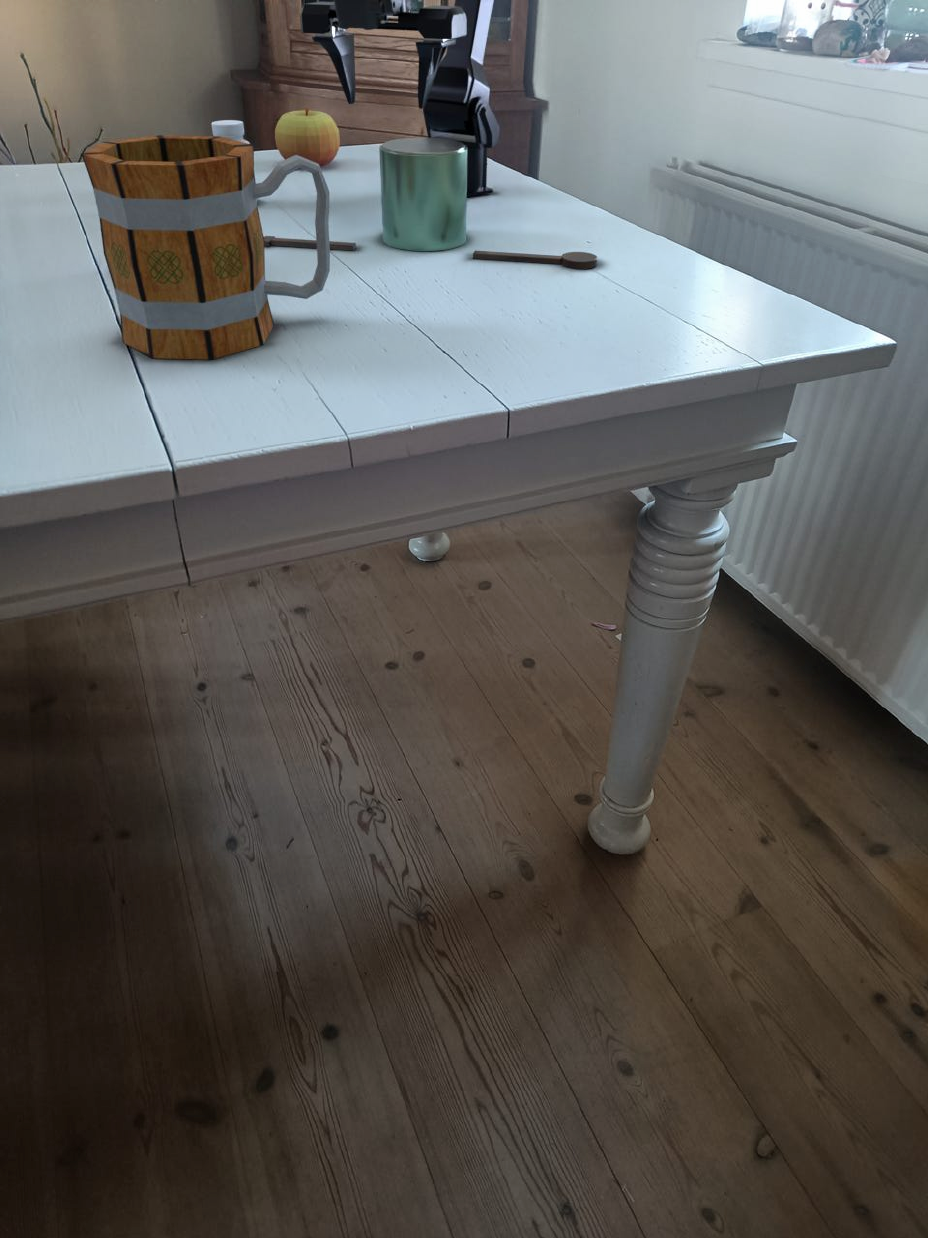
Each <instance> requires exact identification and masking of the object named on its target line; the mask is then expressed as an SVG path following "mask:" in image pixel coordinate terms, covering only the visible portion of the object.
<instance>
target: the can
mask: <svg viewBox="0 0 928 1238" xmlns="http://www.w3.org/2000/svg"><path fill="white" fill-rule="evenodd" d="M378 150H379V175H380V176H379V177H380V201H381V203H380V204H381V222H382V223H381V224H382V225H381V226H382V241H383V243H384V244H385V245H387V246H389V247H391V248H395V249H399V250H403V251H404V250H405V251H413V252H438V251H447V250H452V249H455V248H458V247H461V246H463V245H464V244H466V242H467V214H468V213H467V212H468V211H467V207H468V205H467V203H468V201H467V199H468V196H467V146H465V145H464V144H463V143H461V142H458V141H454V140H448V139H439V138H428V137H405V138H396V139H391V140H387V141H385V142H383V143H382V144H380V145H379V149H378Z"/></svg>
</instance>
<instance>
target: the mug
mask: <svg viewBox="0 0 928 1238" xmlns="http://www.w3.org/2000/svg"><path fill="white" fill-rule="evenodd" d="M254 149H255V145H254V144H251V143H250V144H248V143H244V142H240V141H236V140H232V139H228V138H224V137H220V136H213V135H168V134H167V135H163V134H162V135H161V134H159V135H152V136H151V135H150V136H144V137H143V136H142V137H135V138H128V139H118V140H110V141H102V142H100V143H99V144H98V145H95V146H94V147H92V148H90V149H88V150H86V151H84V152H82V153H81V157H82V160H83V163H84V165H85V166H84V167H85V169H86V171H87V172H86V173H87V174H88V177H89V180H90V183H91V186H92V190H93V194H94V199H95V200H94V201H95V204H96V208H97V209H96V210H97V213H98V219H99V225H100V232H101V233H100V234H101V235H100V236H101V243H102V249H103V250H102V252H103V256H104V259H105V262H106V265H107V269H108V272H109V275H110V279H111V283H112V285H113V290H114V293H115V297H116V302H117V307H118V312H119V319H120V329H121V330H120V331H121V341H122V343H123V344H125V345H127V346H128V347H131V348H132V349H133V350H136V351H137V352H139V353H141V354H143V355H144V356H147V357H148V358H150V359H167V360H215V359H219V358H223V357H226V356H229V355H233V354H237V353H240V352H244V351H246V350H250V349H254V348H257V347H261V346H264V344H265V342H266V340H267V339H268V337H269V335H270V333H271V332H272V329H273V328H274V325H275V324H274V319H273V315H272V310H271V306H270V302H269V299H268V295H269V296H270V295H271V296H282V297H291V298H297V299H304V300H308V299H309V298H311V297H313V296H314V295H317V294H319V293H320V292H322V291H323V290H324V287H325V285H326V282H327V279H328V277H329V274H330V271H331V249H330V244H329V241H330V230H329V227H330V226H329V221H330V219H329V218H330V189H329V187H328V183H327V181H326V179H325V176H324V174H323V171H322V169H321V168H322V167H320V166H319V164H318V163H315V162H313V161H310V160H308V159H305V158H303V157H301V156H298V155H294V156H292V157H290V158H288V159H286V160H285V159H283V160H282V161H279V162H278V163H276V164H275V166H274V168H273V169H272V170H271V172H270V173H269V174H268V176H267V177H266V178H265V179H264V180H263V181H262V182H256V181H255V182H256V184H255V182H254V174H255V150H254ZM299 169H300V170H303V171H305V172H308V173H310V174H311V176H312V179H313V183H314V186H315V191H316V202H315V203H316V204H315V217H314V218H315V219H314V224H315V225H314V226H315V240H316V241H317V248H316V254H317V255H316V256H317V257H316V258H317V259H316V260H317V265H316V268H315V271H314V274H313V277H312V280H310V281H308V282H307V283H304V284H303V285H298V284H294V283H289V282H287V281H275V280H266V268H265V264H266V263H265V262H266V261H265V246H264V237H265V236H264V232H263V227H262V223H261V218H260V212H259V207H258V201H257V199H256V198H258V199H261V198H266V197H270V196H272V195H273V194H274V193H275V192H276V191H277V190H278V189H279V188H280V186H281V185H282V183H283V182H284V180H285V179H286V178H287V176H288V175H290V174H292V173H293V172H295V171H297V170H299Z"/></svg>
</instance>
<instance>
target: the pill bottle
mask: <svg viewBox="0 0 928 1238" xmlns="http://www.w3.org/2000/svg"><path fill="white" fill-rule="evenodd" d="M211 130H212V136H220V137H224V138H228V139H232V140H236V141H240V142H244V143H248V144H251V142H249V140H246V139H244V135H245V127H244V122H243V121H241V120H237V119H236V120H235V119H223V120H215V121H212V122H211ZM255 176H256V175H255V173H254V182H255V184H257V182H256V177H255ZM256 199H257V202H258V199H259V198H256Z"/></svg>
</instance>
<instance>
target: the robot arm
mask: <svg viewBox="0 0 928 1238" xmlns="http://www.w3.org/2000/svg"><path fill="white" fill-rule="evenodd" d="M494 1H495V0H454V5H428V6H424V7H420V8H419V10H418V11H412V0H333V1H315V2H308V3H304V4H303V5H302V7H301V9H300V13H299V24H300V33H302V34H313V35H314V36H311V40H312V42H313V43H318V44H320V46H321V47H322V48H323V49H324V50H325V51H326V53H327V55H328V56H329V58H330V60H331V62H332V64H333V67H334V69H335V71H336V74H337V76H338V80H339V83H340V84H341V85H340V86H341V88H342V90H343V93H344V95H345V98H346V101H347V103H348V105H353V104H355V102H356V87H357V86H356V84H357V83H356V60H355V59H356V58H355V34H354V33H349V32H348V33H346V30H348V29H362V30H365V31H373V30H387V31H409V32H410V31H411V32H413V31H414V32H416V31H417V32H418V33H419V34H420V35H421V36H422V38H423V39H422V40H418V41H415V47H416V52H417V55H418V56H417V57H418V72H417V74H418V75H417V105H418V109H420V110H422V113H423V118H424V123H425V128H426V134H427V138H439V139H448V140H454V141H458V142H461V143H463V144H464V145H465V146H467V197H472V196H480V195H488V194H493V193H494V189H493V188H491V187H488V186H487V185H488V184H487V182H488V181H487V180H488V179H487V178H488V149H493V148H495V146H496V145H498V141H499V136H500V131H501V127H500V125H499V123H498V121H497V119H496V117H495V114H494V113H493V111H492V108H491V106H490V104H489V103H490V93H491V88H490V84H489V82H488V79H487V78H488V77H487V74H486V72H485V69H484V68H485V67H484V58H485V52H486V47H487V41H488V35H489V29H490V24H491V19H492V12H493V8H494V7H493V6H494ZM389 16H392V17H389Z"/></svg>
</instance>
